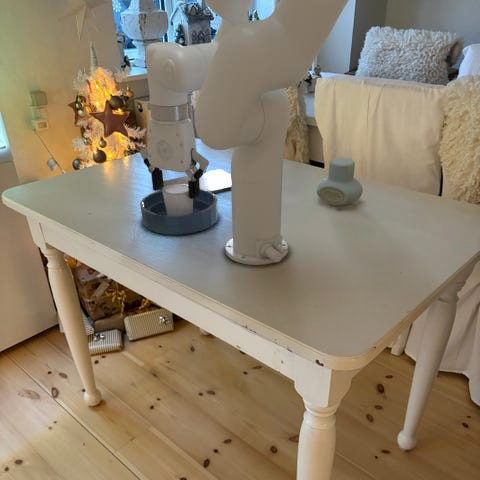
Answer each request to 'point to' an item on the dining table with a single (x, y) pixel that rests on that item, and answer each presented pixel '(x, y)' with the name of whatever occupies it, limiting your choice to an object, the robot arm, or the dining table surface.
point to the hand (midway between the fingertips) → (176, 192)
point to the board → (206, 181)
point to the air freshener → (340, 184)
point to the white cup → (177, 200)
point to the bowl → (179, 224)
